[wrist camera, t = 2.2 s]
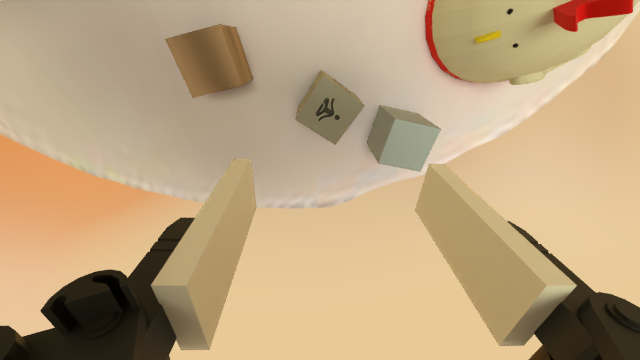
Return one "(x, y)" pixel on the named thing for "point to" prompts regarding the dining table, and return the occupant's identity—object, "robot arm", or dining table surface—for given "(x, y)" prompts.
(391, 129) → the slate block
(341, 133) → the dice cube
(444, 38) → the kitchen timer
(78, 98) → the dining table surface
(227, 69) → the walnut block
